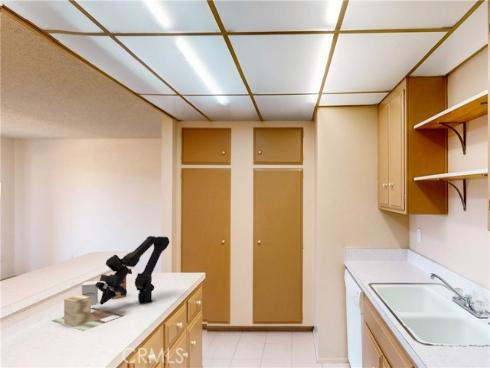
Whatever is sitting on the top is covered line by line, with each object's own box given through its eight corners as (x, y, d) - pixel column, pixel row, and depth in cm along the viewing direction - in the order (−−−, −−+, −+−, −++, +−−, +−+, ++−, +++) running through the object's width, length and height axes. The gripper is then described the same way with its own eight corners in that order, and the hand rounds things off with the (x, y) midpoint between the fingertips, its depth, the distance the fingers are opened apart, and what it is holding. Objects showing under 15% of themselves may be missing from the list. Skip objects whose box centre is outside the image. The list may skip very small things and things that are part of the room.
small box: (112, 299, 199) (112, 276, 199) (109, 296, 204) (109, 274, 205) (126, 297, 203) (126, 274, 204) (123, 294, 209) (123, 272, 209)
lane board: (93, 310, 180) (93, 307, 180) (125, 318, 167) (125, 315, 167) (51, 324, 161) (51, 320, 161) (83, 334, 148) (83, 331, 148)
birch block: (80, 317, 164) (80, 294, 165) (90, 320, 160) (90, 296, 161) (64, 323, 158) (64, 298, 158) (74, 326, 153) (74, 301, 154)
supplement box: (81, 308, 183) (81, 284, 183) (83, 304, 190) (83, 281, 190) (96, 307, 185) (96, 283, 185) (98, 303, 192) (98, 280, 192)
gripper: (98, 266, 179) (78, 292, 170) (121, 269, 170) (102, 298, 160) (111, 278, 186) (93, 304, 176) (134, 282, 176) (116, 310, 166)
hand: (100, 304), depth 169 cm, fingers closed
